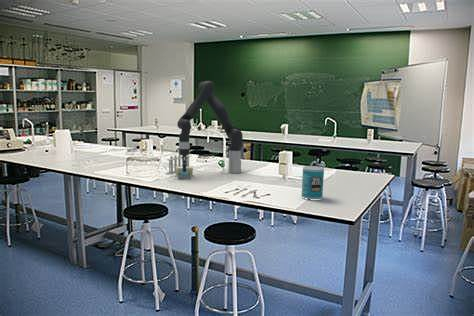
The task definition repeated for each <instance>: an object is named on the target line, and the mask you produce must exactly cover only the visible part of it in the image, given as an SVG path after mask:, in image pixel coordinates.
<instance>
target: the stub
mask: <svg viewBox="0 0 474 316" xmlns="http://www.w3.org/2000/svg"><path fill="white" fill-rule="evenodd" d="M180 176H189V169H188V168H186V172H183V168H180Z"/></svg>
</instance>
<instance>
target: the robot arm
mask: <svg viewBox="0 0 474 316" xmlns="http://www.w3.org/2000/svg"><path fill="white" fill-rule="evenodd" d="M215 89H216V85H215V84H214V82H213V81H210V80H205V81H201V82H199V85H198V90H199V92H200V93H199V95H198V96H197V97H196V98H195V99H194V100H193V101H192V102H191V104H190V105H188V108H187V110H186V111H185V113H183V115H182V116H180V118H179V119H178V121H177V125H176V126H177V128H178V129H180V130H181V131H180V132H181V133H179V134H178V155H181V156H183V157H182V158H181V165H182V164H183V172H186V166H187V165H186V164H187V157H186V155H190V153H191V152H190V151H191V150H190V149H191V147H190V146H191V145H190V133H191V129H192V125H191V120H193V119H194V118H195V117H196V116H197V114H198V112H199V111H200V109H201V108H202V107H203V105H204V103H205V102H207V103H208V105H209V107H210V108H211V111H212V112H213V114H214V115H215V117H216V119H217V120H218V122H219V123H220V124H221V126H222V129H223V131H224V132H225V134H226V137H227V138H228V139H229V140H230V141H231V142H230V143H231V144H230V146H228V173H229V174H241V173H242V160H241V159H242V147H243V139H244V138H243V137H244V136H243V131H241V130H240V129H237V128H235V127H234V125H233V124H232V122H231V119H230V113H229V112H228V110H227V108H226V107H225V105H224V103H222V102H221V101H220V100H219V99H218V98H217V97H216V95H215V94H214V91H215Z"/></svg>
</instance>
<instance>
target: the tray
mask: <svg viewBox="0 0 474 316" xmlns="http://www.w3.org/2000/svg"><path fill="white" fill-rule="evenodd" d="M177 180H192V176H191V173H189V176H180V173H178V176H177Z"/></svg>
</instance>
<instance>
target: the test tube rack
mask: <svg viewBox="0 0 474 316" xmlns="http://www.w3.org/2000/svg"><path fill="white" fill-rule="evenodd" d="M182 157H183V156H182V155H179V154H178V155H176V154H175V155H174V156H173V155H170V158H166V161H168V172H166V175H176V167H183V164H182ZM186 157H187V164H186V165H187V166H186V167H190V158H191V155H190V154H189V155H186Z"/></svg>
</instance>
